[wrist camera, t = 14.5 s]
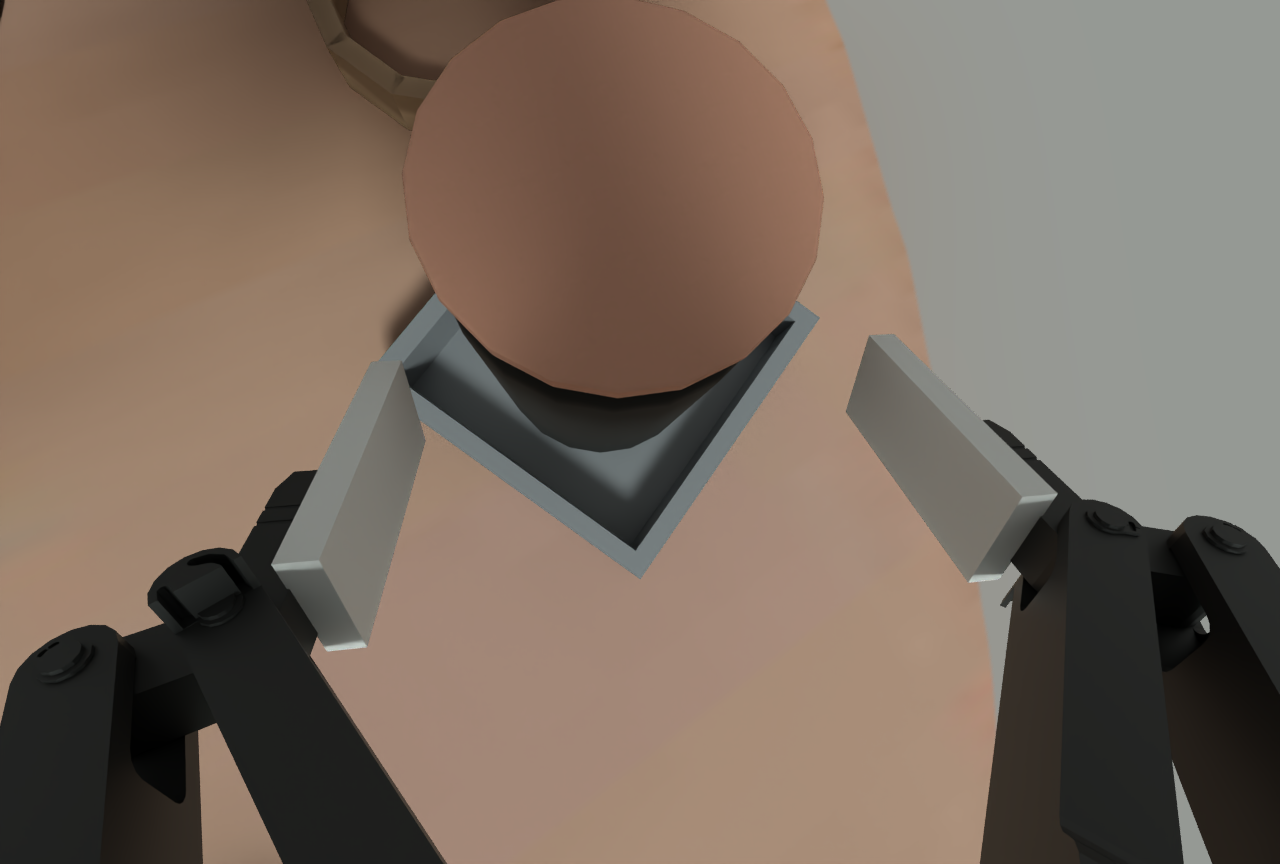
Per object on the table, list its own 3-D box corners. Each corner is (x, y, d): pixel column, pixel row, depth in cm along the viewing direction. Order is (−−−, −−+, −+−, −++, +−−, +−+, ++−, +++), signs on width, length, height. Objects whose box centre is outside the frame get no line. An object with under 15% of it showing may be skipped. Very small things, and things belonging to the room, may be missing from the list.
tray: (391, 394, 31) (363, 379, 27) (570, 176, 34) (568, 133, 30) (633, 568, 31) (640, 579, 27) (792, 338, 34) (819, 317, 30)
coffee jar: (714, 309, 32) (871, 79, 15) (659, 479, 31) (761, 454, 13) (543, 248, 32) (491, -69, 14) (479, 418, 30) (328, 306, 12)
